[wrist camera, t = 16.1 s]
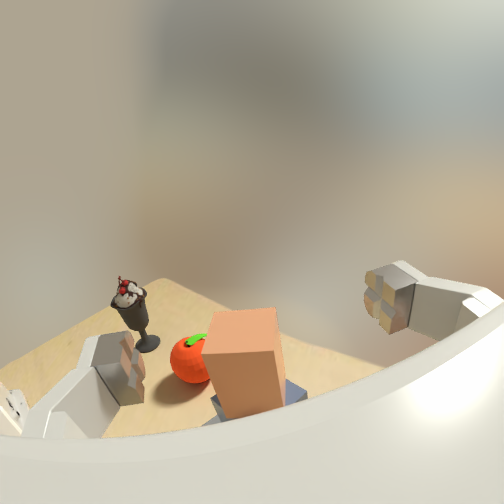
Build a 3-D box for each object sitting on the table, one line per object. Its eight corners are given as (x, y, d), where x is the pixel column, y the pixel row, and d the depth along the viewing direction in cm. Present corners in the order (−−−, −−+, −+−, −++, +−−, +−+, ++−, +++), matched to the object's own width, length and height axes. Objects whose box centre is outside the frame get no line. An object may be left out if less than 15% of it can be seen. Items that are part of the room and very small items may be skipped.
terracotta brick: (226, 418, 26) (200, 354, 22) (233, 377, 31) (214, 312, 27) (284, 416, 25) (273, 350, 21) (285, 374, 30) (275, 307, 26)
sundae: (148, 360, 46) (114, 285, 40) (125, 349, 50) (92, 279, 44) (172, 338, 51) (145, 264, 46) (148, 329, 55) (121, 261, 49)
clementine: (208, 350, 47) (196, 316, 44) (237, 368, 42) (227, 333, 40) (170, 377, 42) (154, 344, 39) (197, 400, 37) (181, 366, 35)
